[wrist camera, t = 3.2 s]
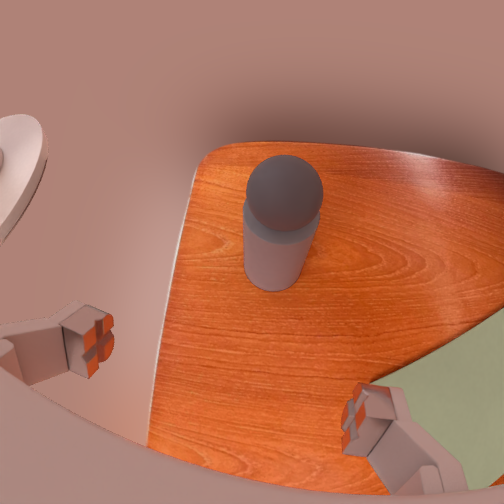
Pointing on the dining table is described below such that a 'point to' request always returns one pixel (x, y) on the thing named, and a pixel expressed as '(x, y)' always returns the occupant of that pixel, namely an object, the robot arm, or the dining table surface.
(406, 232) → the dining table surface
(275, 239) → the ball
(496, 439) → the mat
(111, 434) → the robot arm
